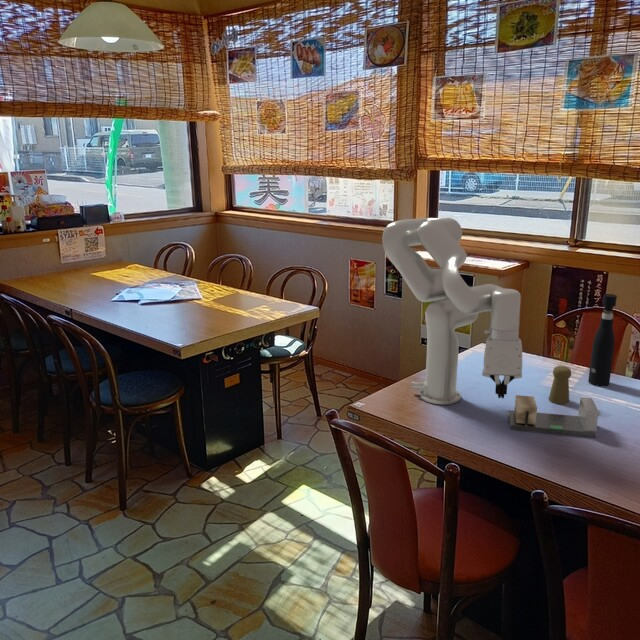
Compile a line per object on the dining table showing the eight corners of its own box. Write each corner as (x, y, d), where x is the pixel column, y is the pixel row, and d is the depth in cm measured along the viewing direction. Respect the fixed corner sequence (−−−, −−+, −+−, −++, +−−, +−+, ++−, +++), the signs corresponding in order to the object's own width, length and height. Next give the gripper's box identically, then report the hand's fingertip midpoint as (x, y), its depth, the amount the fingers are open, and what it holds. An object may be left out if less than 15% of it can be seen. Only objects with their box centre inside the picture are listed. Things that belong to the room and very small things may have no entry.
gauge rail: (510, 429, 168) (513, 405, 166) (508, 414, 177) (510, 391, 175) (595, 437, 163) (599, 412, 161) (588, 421, 172) (591, 397, 170)
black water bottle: (610, 381, 201) (622, 294, 193) (607, 388, 196) (619, 298, 188) (589, 378, 205) (600, 292, 196) (586, 384, 199) (597, 296, 191)
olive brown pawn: (571, 405, 183) (575, 371, 180) (550, 403, 184) (553, 370, 181) (567, 397, 189) (571, 364, 186) (547, 396, 190) (550, 363, 187)
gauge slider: (516, 424, 167) (518, 407, 165) (514, 411, 175) (515, 395, 174) (535, 426, 166) (537, 409, 164) (532, 412, 174) (534, 396, 173)
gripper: (476, 336, 164) (473, 399, 168) (534, 338, 160) (530, 403, 165) (475, 329, 171) (473, 390, 175) (531, 331, 167) (527, 393, 172)
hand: (500, 396), depth 170 cm, fingers closed
